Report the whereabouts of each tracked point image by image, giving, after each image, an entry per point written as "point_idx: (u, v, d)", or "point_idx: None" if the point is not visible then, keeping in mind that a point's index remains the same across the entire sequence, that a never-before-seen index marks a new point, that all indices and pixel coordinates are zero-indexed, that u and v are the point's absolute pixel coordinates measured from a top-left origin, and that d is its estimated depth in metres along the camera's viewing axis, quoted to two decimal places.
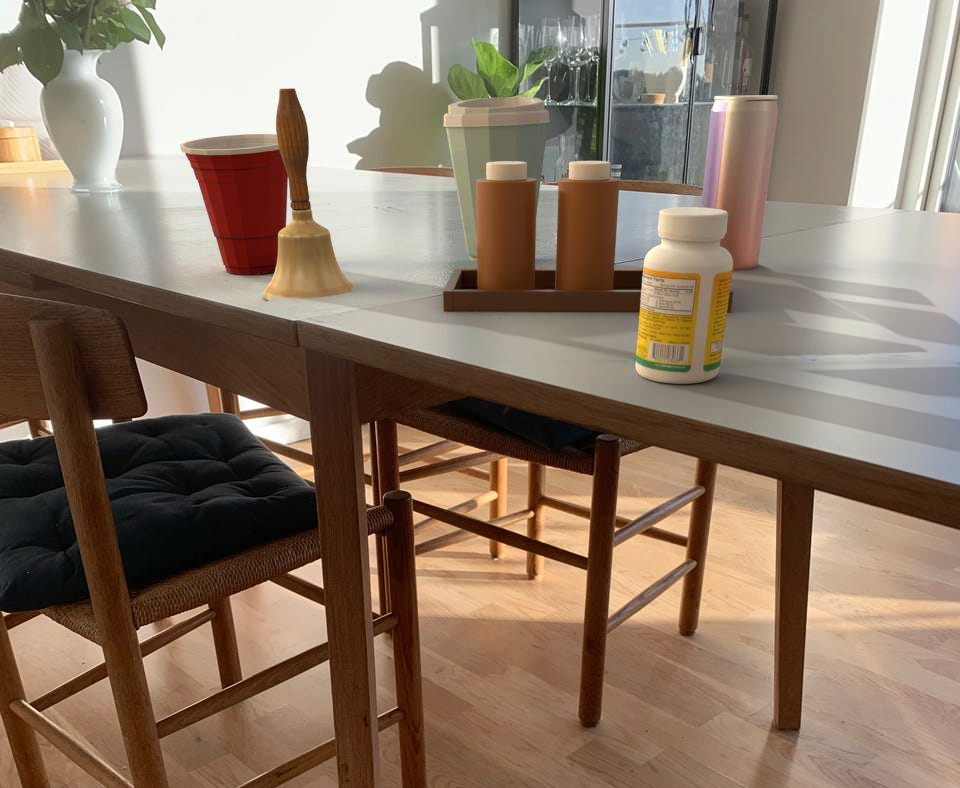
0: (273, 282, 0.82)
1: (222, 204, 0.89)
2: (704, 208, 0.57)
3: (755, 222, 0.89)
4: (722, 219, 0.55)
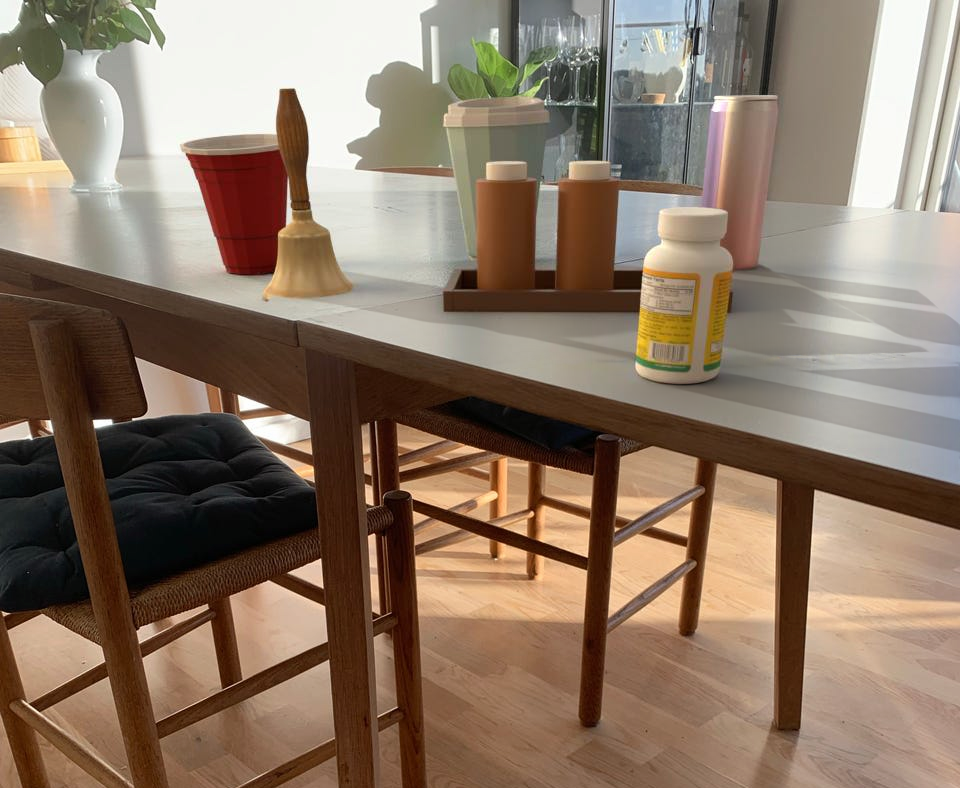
0: (273, 282, 0.82)
1: (222, 204, 0.89)
2: (704, 208, 0.57)
3: (755, 222, 0.89)
4: (722, 219, 0.55)
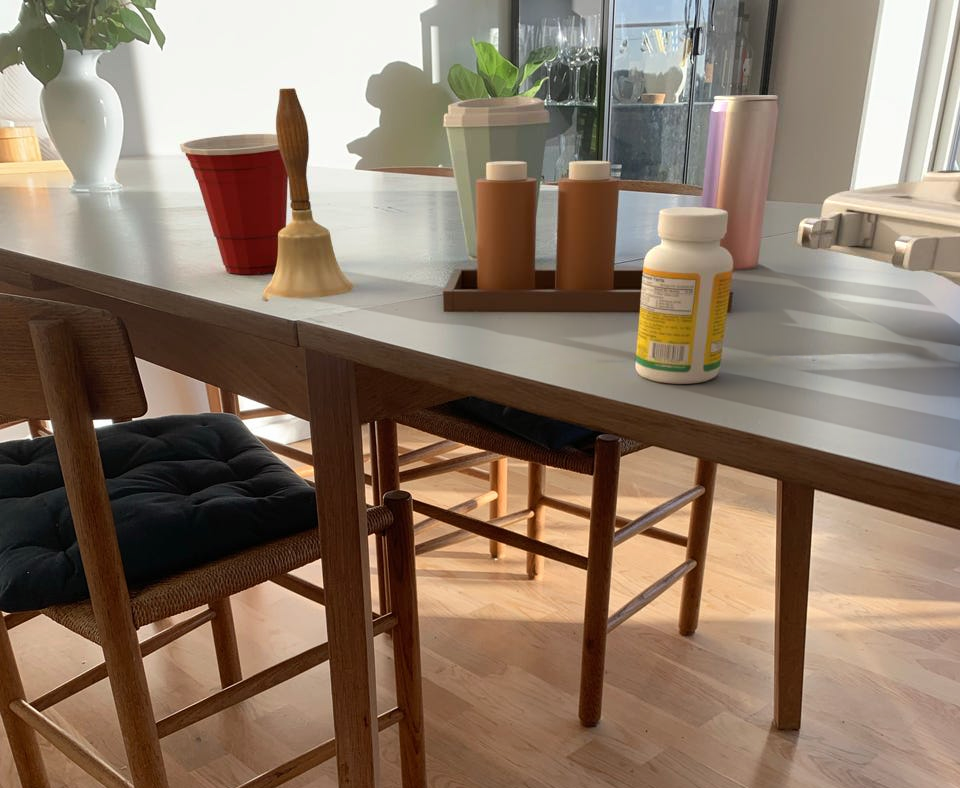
0: (273, 282, 0.82)
1: (222, 204, 0.89)
2: (704, 208, 0.57)
3: (755, 222, 0.89)
4: (722, 219, 0.55)
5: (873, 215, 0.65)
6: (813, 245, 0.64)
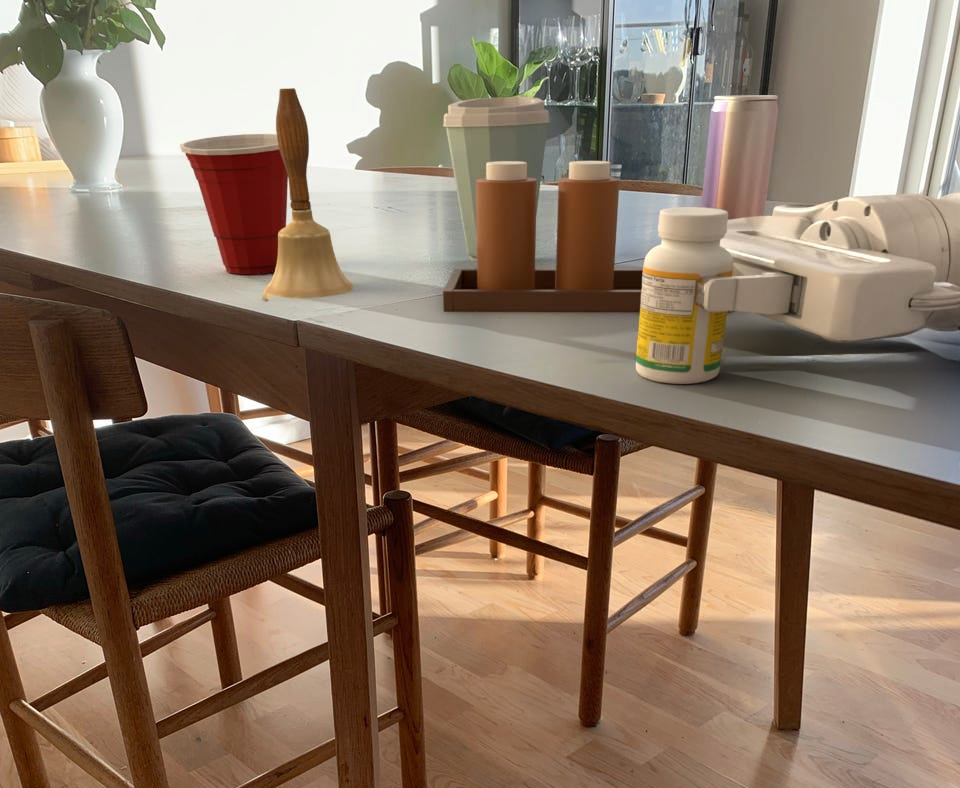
0: (273, 282, 0.82)
1: (222, 204, 0.89)
2: (704, 208, 0.57)
3: None
4: (722, 219, 0.55)
5: None
6: None
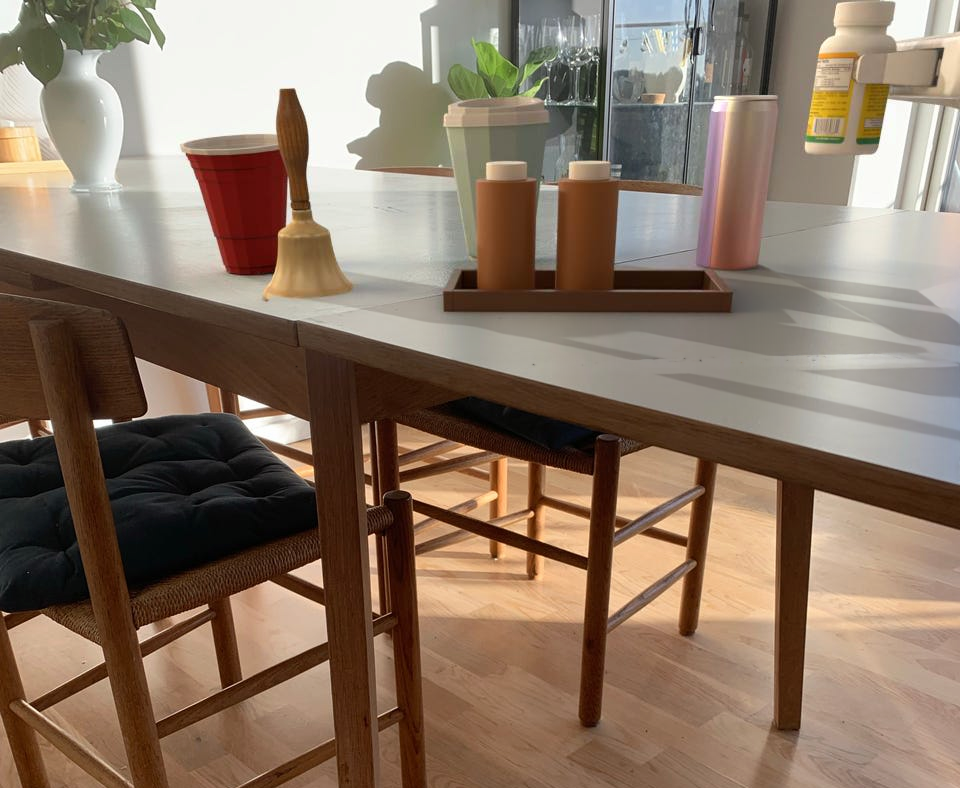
0: (273, 282, 0.82)
1: (222, 204, 0.89)
2: None
3: (755, 222, 0.89)
4: (886, 6, 0.66)
5: None
6: None
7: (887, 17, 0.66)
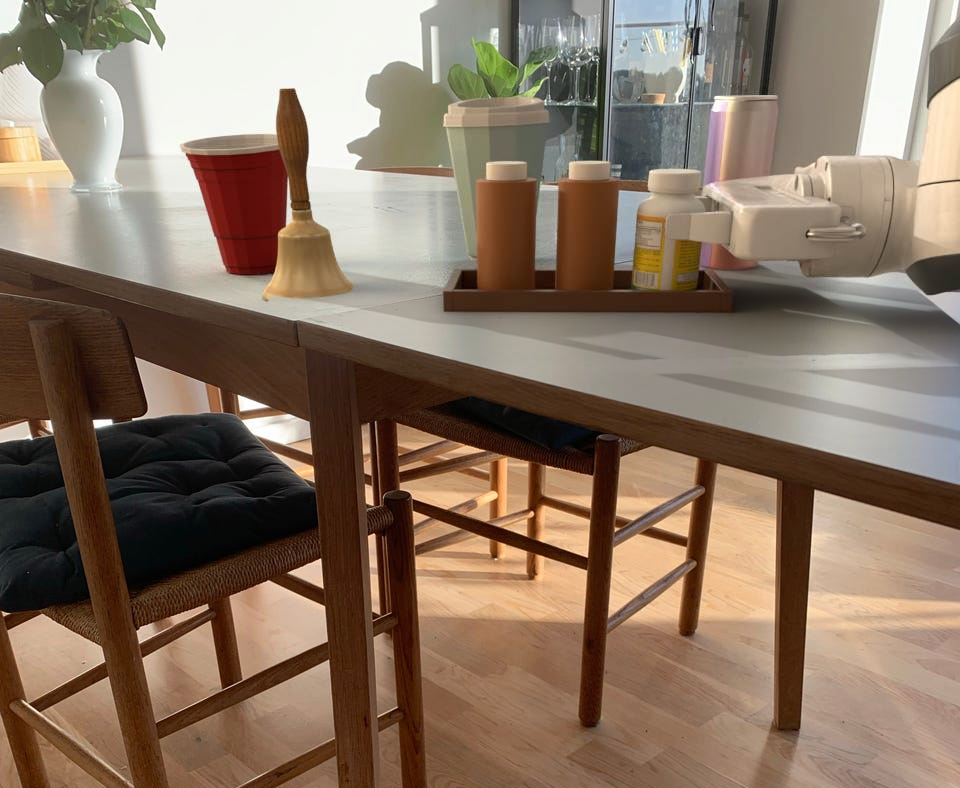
0: (273, 282, 0.82)
1: (222, 204, 0.89)
2: (689, 170, 0.74)
3: None
4: (689, 177, 0.72)
5: None
6: None
7: (692, 186, 0.72)
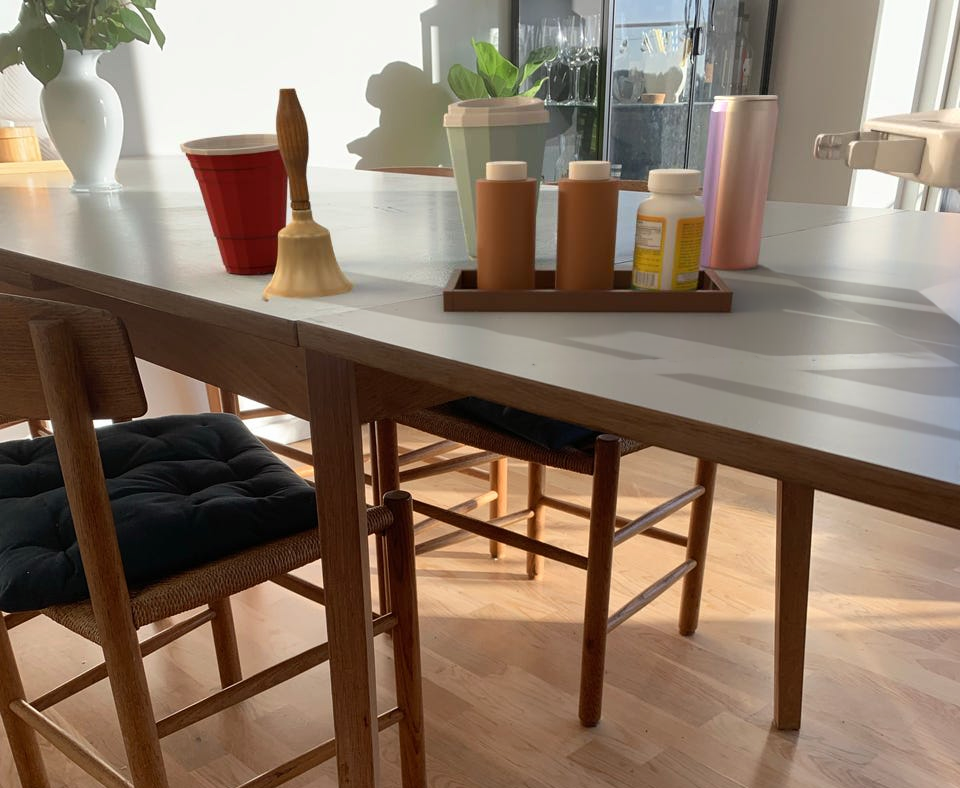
0: (273, 282, 0.82)
1: (222, 204, 0.89)
2: (689, 170, 0.74)
3: (755, 222, 0.89)
4: (689, 177, 0.72)
5: (885, 133, 0.76)
6: (821, 156, 0.76)
7: (692, 186, 0.72)
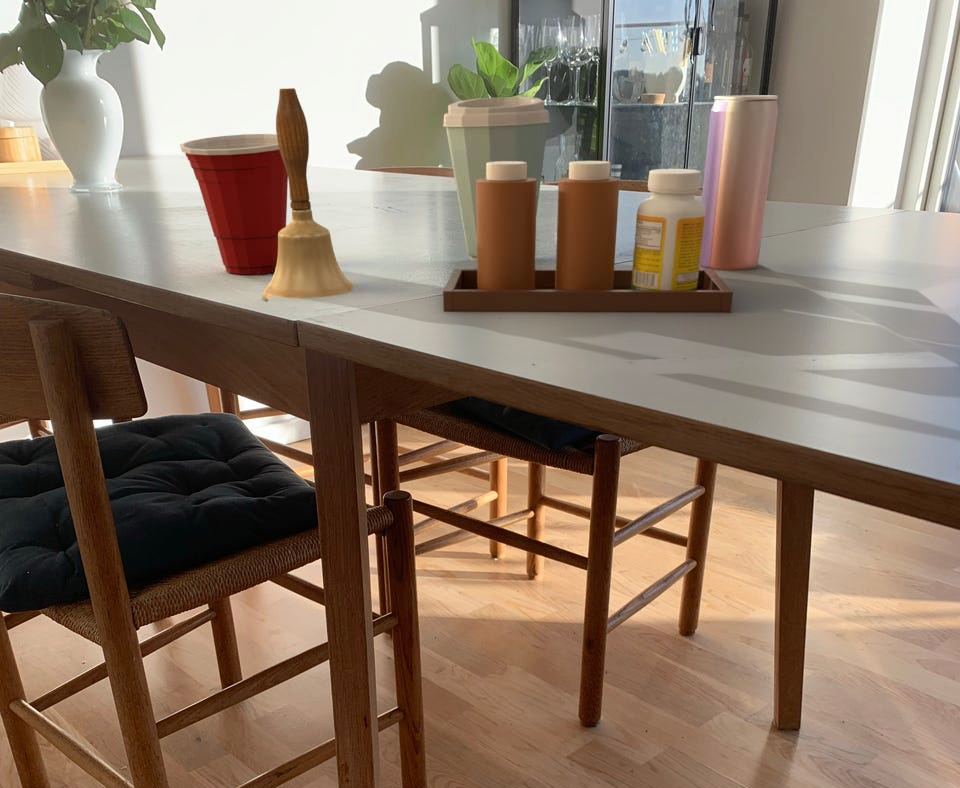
0: (273, 282, 0.82)
1: (222, 204, 0.89)
2: (690, 170, 0.74)
3: (755, 222, 0.89)
4: (689, 177, 0.72)
5: None
6: None
7: (692, 186, 0.72)
